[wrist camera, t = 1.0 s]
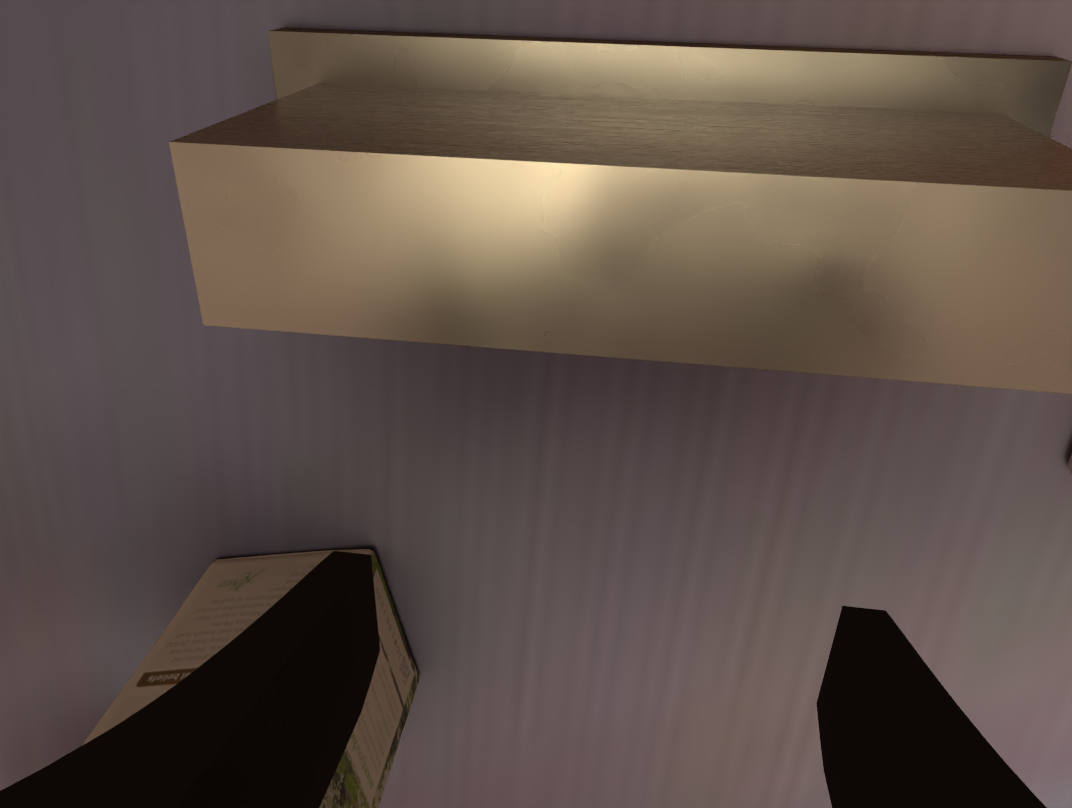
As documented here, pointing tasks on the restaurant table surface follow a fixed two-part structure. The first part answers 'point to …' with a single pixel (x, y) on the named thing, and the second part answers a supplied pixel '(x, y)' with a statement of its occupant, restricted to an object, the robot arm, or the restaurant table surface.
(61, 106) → the restaurant table surface
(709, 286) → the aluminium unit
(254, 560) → the syrup box
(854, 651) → the robot arm
